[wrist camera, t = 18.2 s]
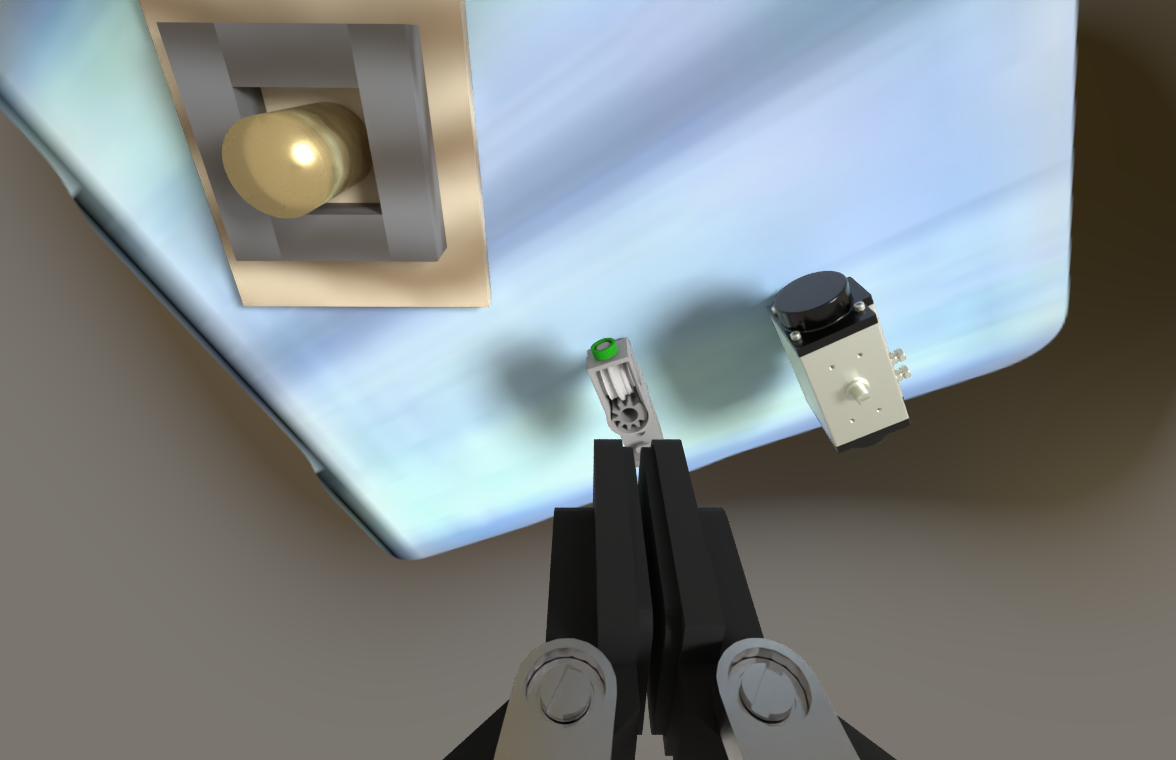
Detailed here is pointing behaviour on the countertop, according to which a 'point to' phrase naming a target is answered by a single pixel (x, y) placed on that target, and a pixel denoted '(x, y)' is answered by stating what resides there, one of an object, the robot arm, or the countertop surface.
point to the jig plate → (452, 155)
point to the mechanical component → (623, 393)
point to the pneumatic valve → (841, 358)
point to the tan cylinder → (296, 157)
